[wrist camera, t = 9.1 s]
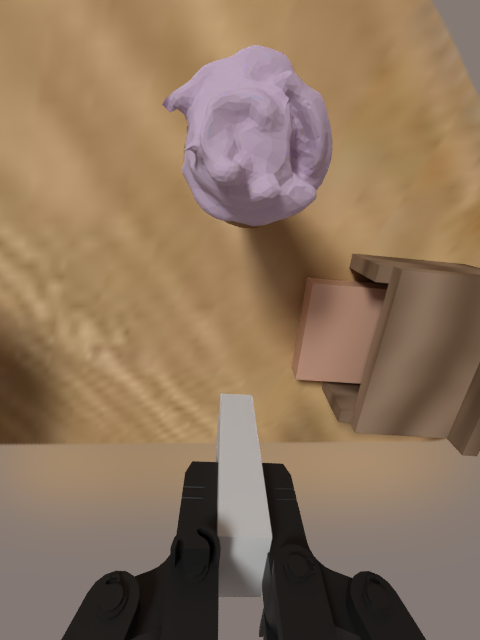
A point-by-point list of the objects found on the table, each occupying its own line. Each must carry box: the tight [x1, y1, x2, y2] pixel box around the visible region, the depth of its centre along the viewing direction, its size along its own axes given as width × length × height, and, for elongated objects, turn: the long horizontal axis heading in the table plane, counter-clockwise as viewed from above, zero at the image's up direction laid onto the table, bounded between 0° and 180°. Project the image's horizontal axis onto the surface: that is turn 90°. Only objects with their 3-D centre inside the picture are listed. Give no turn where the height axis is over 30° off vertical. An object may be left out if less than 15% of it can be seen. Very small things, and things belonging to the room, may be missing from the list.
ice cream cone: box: [162, 45, 332, 228], centre depth 16 cm, size 7×6×15 cm
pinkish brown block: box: [292, 278, 388, 384], centre depth 28 cm, size 12×9×2 cm
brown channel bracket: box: [322, 254, 480, 456], centre depth 25 cm, size 10×13×8 cm
